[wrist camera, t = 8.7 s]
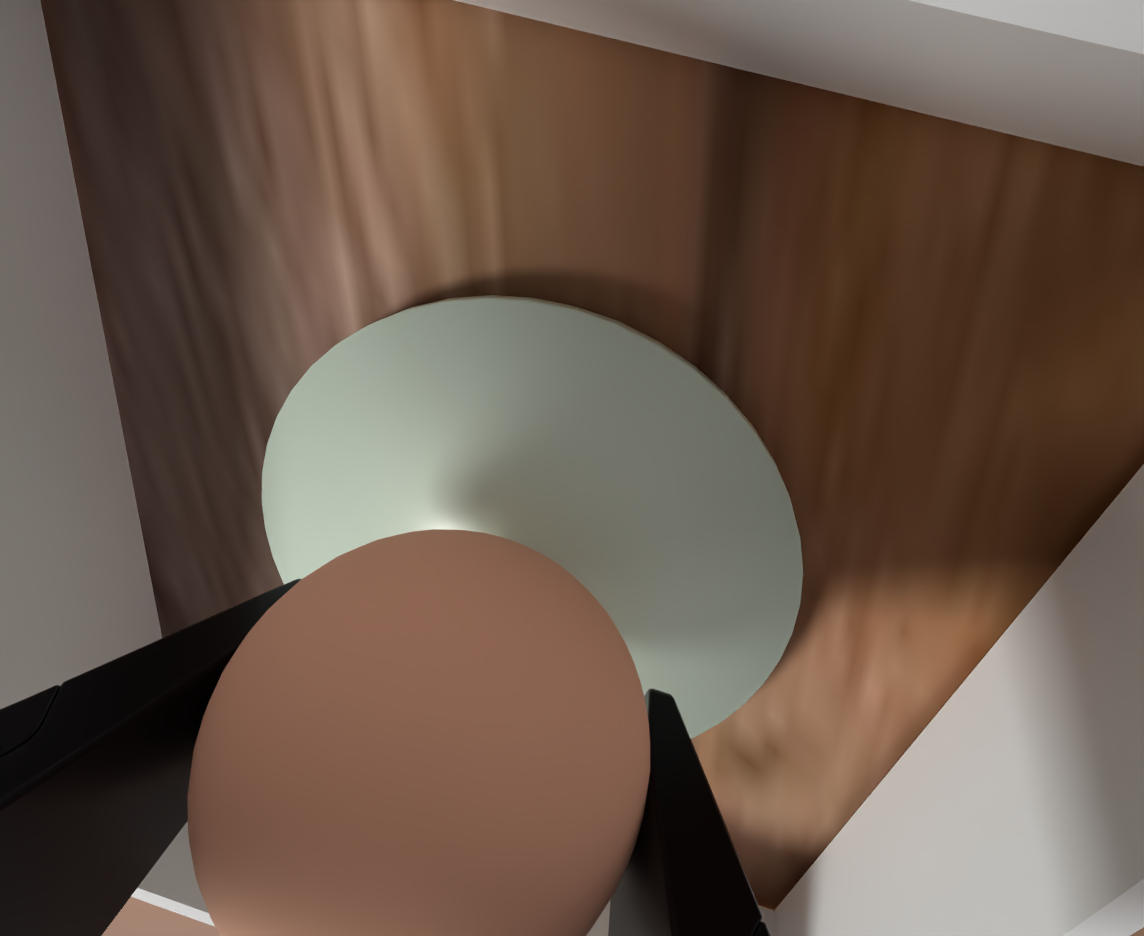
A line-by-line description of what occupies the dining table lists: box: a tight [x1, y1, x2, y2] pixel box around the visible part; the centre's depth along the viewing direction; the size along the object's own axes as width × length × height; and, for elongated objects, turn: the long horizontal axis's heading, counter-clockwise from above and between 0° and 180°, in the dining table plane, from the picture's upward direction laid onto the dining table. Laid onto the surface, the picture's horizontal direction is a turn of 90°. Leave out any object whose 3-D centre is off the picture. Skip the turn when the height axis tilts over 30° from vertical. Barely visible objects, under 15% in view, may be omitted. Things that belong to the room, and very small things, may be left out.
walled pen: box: [0, 0, 1144, 936], centre depth 10 cm, size 19×19×4 cm
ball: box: [187, 529, 650, 936], centre depth 8 cm, size 6×6×6 cm
